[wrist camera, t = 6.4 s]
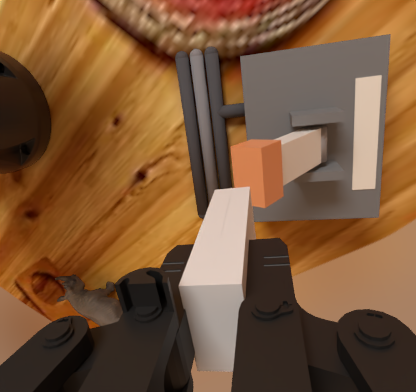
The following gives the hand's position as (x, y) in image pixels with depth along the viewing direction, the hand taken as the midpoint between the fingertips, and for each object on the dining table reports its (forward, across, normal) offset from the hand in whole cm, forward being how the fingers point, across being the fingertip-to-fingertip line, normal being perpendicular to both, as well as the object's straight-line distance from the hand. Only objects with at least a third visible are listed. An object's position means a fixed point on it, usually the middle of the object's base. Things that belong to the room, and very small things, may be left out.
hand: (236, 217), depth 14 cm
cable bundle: (+24, -3, -1) cm, 24 cm away
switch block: (+24, +6, -1) cm, 24 cm away
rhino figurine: (+24, -24, -21) cm, 40 cm away
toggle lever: (+16, +6, -1) cm, 17 cm away
